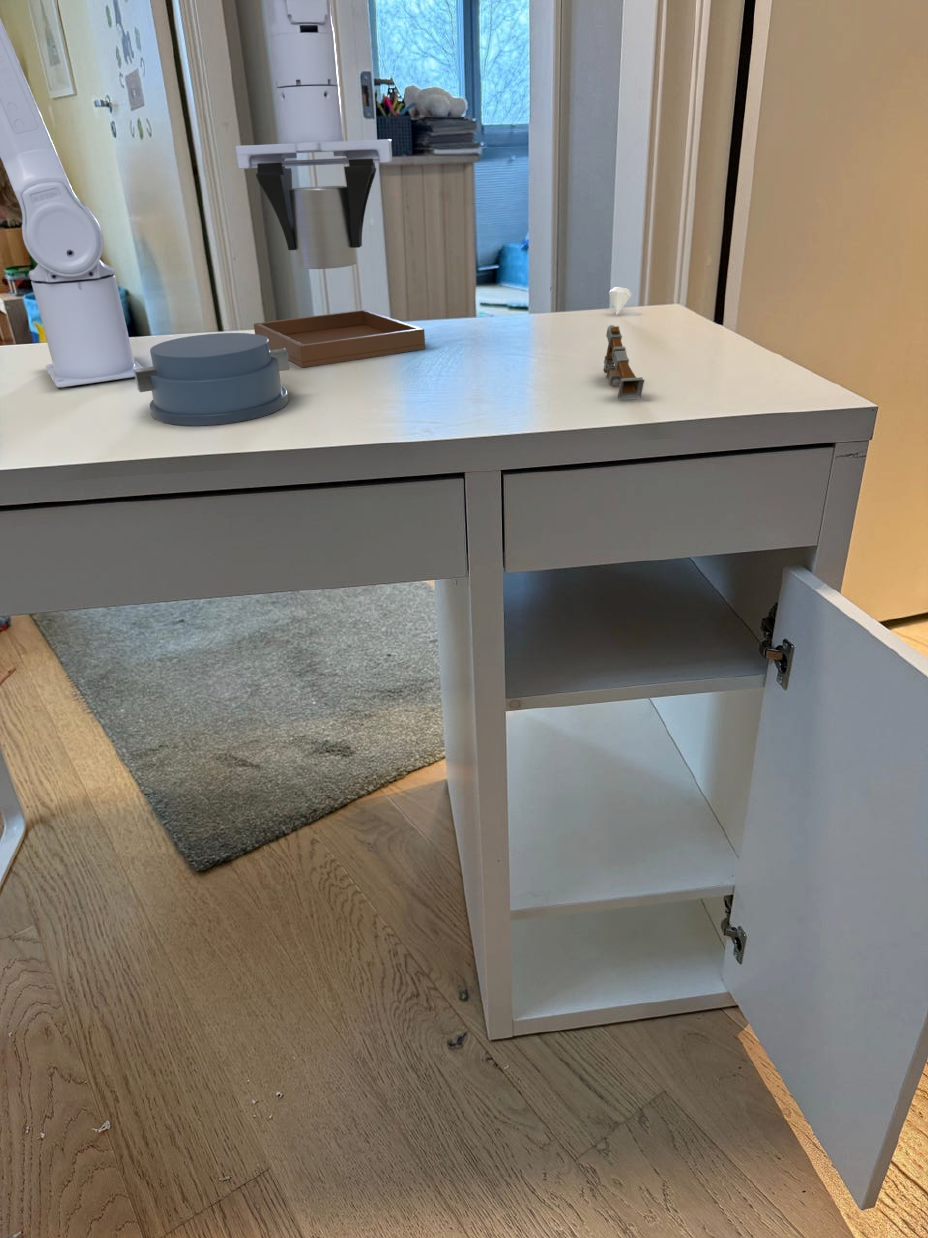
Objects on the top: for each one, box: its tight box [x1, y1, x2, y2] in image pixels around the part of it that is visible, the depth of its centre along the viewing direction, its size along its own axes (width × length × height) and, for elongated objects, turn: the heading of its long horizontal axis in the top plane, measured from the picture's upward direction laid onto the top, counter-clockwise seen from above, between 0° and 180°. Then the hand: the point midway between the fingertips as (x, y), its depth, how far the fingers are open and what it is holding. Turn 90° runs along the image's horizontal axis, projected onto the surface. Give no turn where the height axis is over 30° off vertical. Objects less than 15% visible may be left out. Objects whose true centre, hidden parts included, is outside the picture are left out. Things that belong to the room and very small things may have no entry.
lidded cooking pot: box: [134, 332, 291, 427], centre depth 69 cm, size 11×12×5 cm
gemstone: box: [608, 286, 634, 315], centre depth 100 cm, size 3×3×3 cm
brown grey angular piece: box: [602, 324, 645, 401], centre depth 71 cm, size 2×8×4 cm, turn 6°
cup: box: [289, 185, 357, 270], centre depth 85 cm, size 6×6×7 cm
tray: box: [253, 309, 426, 368], centre depth 90 cm, size 15×13×2 cm
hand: (325, 247), depth 86 cm, fingers closed on cup, 6 cm apart
